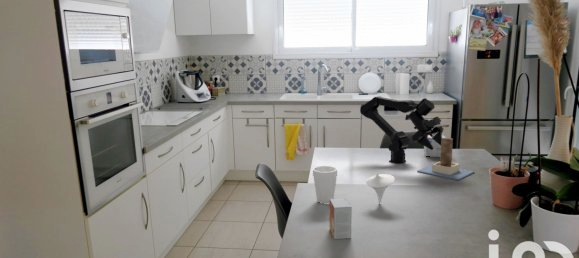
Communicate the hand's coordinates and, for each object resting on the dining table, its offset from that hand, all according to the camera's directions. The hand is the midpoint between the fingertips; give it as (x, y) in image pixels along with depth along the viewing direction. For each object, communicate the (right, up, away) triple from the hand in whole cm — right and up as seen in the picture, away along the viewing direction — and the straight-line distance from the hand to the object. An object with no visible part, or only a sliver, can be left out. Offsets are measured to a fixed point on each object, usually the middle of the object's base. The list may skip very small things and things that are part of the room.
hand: (438, 147), depth 200 cm
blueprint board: (+3, -11, -1) cm, 12 cm away
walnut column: (+3, -8, -2) cm, 9 cm away
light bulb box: (+8, -6, +30) cm, 32 cm away
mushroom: (-36, -20, -39) cm, 57 cm away
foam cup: (-56, -19, -35) cm, 69 cm away
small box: (-54, -25, -65) cm, 88 cm away
